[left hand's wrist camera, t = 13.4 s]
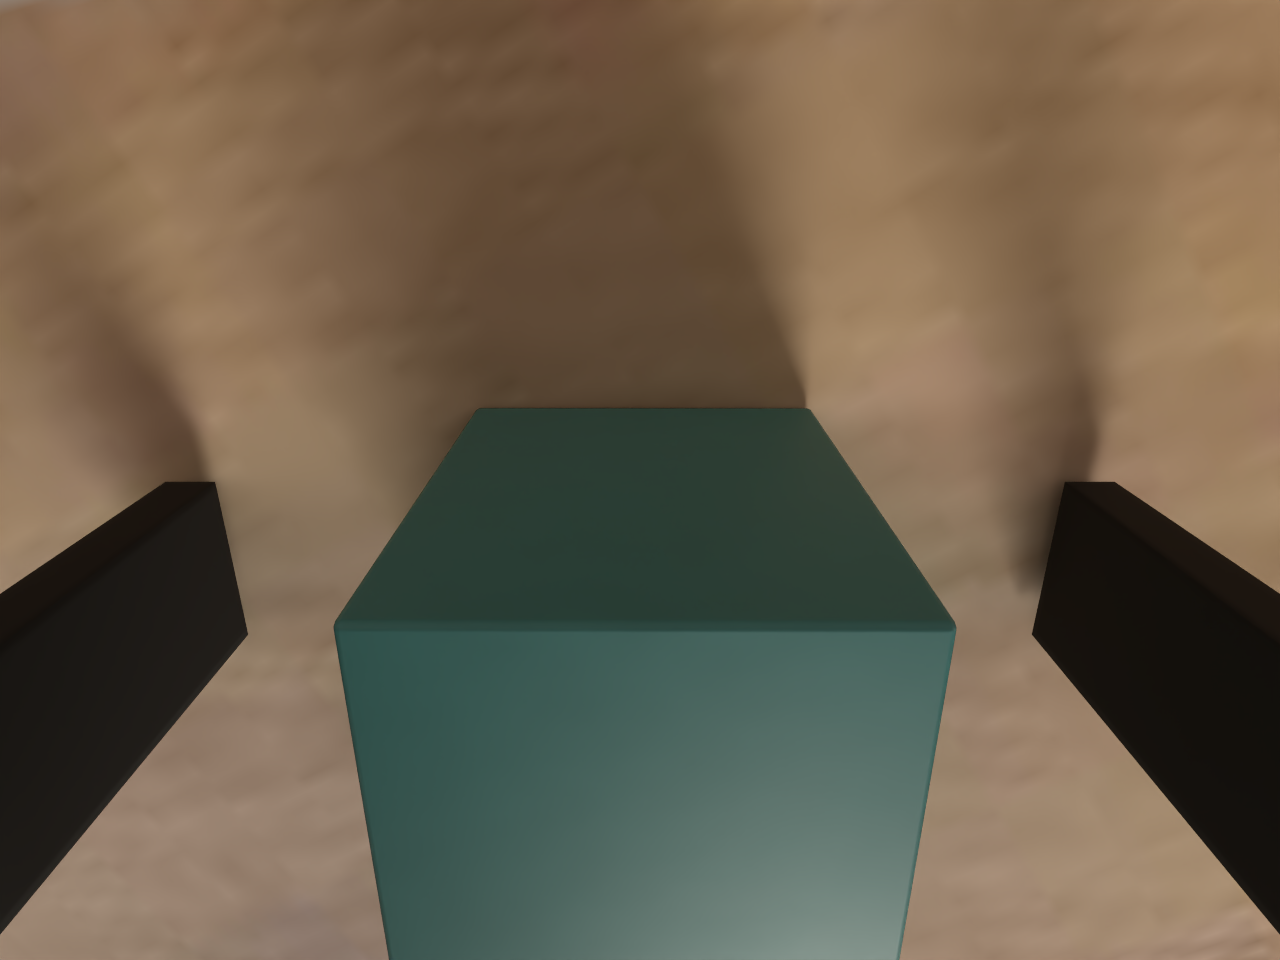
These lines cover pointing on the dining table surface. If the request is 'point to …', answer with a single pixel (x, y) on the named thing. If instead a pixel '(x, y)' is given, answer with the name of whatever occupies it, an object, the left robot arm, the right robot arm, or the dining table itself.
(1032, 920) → the dining table surface
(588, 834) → the teal block
